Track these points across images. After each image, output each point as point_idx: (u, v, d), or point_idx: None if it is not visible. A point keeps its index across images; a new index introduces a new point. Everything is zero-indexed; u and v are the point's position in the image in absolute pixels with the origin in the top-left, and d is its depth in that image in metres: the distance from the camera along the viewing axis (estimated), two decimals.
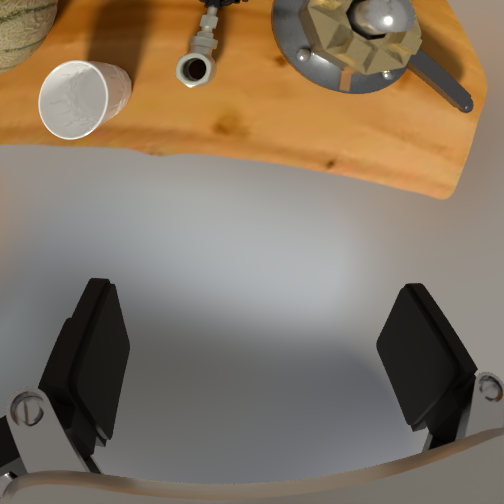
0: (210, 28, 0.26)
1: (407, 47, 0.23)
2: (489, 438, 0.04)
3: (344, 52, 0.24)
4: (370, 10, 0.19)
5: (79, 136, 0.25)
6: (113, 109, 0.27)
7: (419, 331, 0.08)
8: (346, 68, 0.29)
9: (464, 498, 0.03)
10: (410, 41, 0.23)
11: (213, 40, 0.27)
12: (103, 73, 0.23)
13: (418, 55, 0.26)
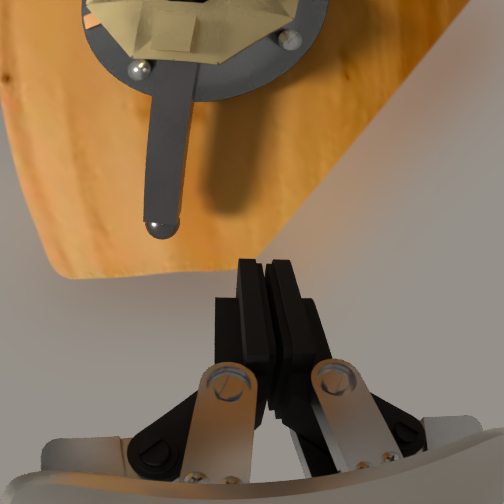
0: None
1: (155, 28, 0.12)
2: (489, 438, 0.04)
3: None
4: None
5: None
6: None
7: (271, 308, 0.09)
8: None
9: (464, 498, 0.03)
10: (171, 28, 0.12)
11: None
12: None
13: (179, 84, 0.16)
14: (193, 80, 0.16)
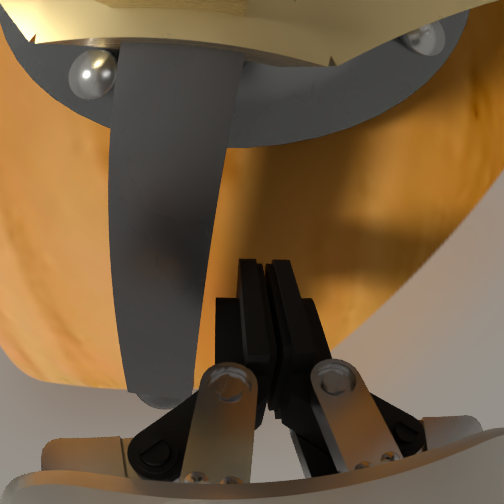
0: None
1: None
2: (489, 438, 0.04)
3: None
4: None
5: None
6: None
7: (271, 307, 0.09)
8: None
9: (464, 498, 0.03)
10: None
11: None
12: None
13: (186, 120, 0.06)
14: (231, 108, 0.06)
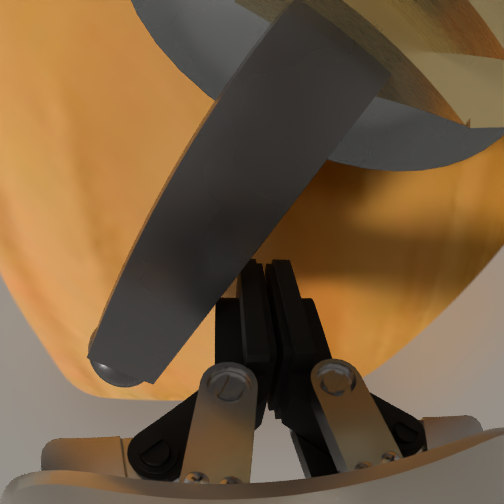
0: None
1: None
2: (489, 438, 0.04)
3: None
4: None
5: None
6: None
7: (271, 308, 0.09)
8: None
9: (464, 498, 0.03)
10: None
11: None
12: None
13: (317, 101, 0.05)
14: (358, 113, 0.06)
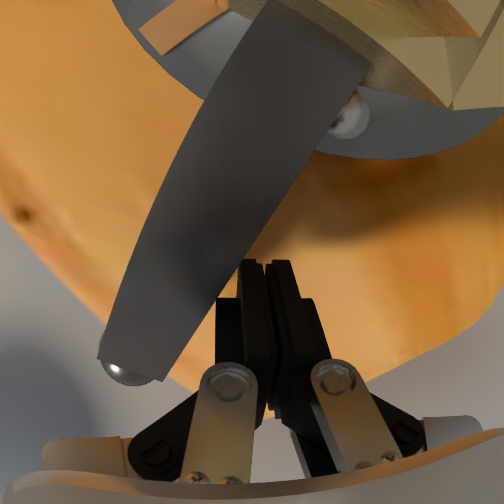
0: None
1: None
2: (489, 438, 0.04)
3: None
4: None
5: None
6: None
7: (270, 308, 0.09)
8: None
9: (464, 498, 0.03)
10: None
11: None
12: None
13: (299, 96, 0.06)
14: (341, 104, 0.06)
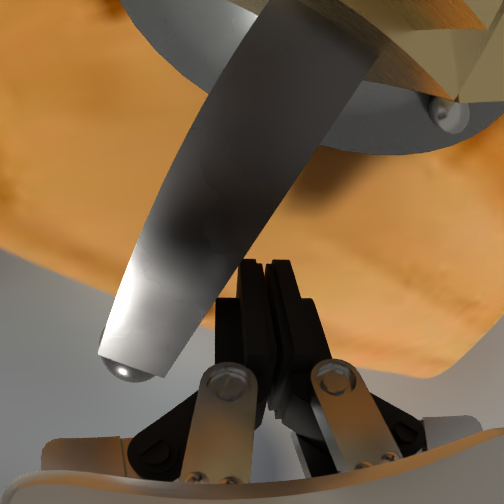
0: None
1: None
2: (489, 438, 0.04)
3: None
4: None
5: None
6: None
7: (271, 308, 0.09)
8: None
9: (464, 498, 0.03)
10: None
11: None
12: None
13: (306, 87, 0.05)
14: (348, 96, 0.06)
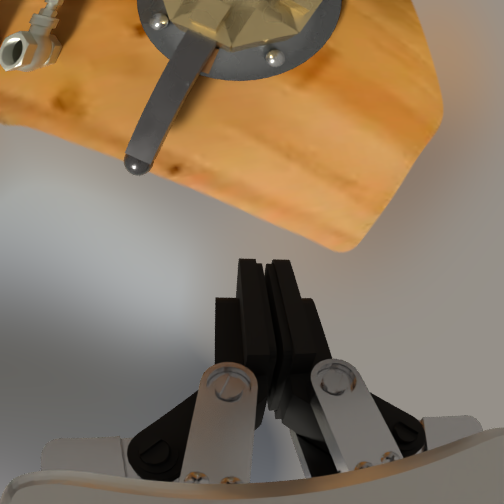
0: (52, 5, 0.17)
1: (198, 5, 0.15)
2: (489, 438, 0.04)
3: None
4: None
5: None
6: None
7: (271, 308, 0.09)
8: None
9: (464, 498, 0.03)
10: (209, 9, 0.16)
11: (48, 18, 0.17)
12: None
13: (195, 53, 0.20)
14: (207, 54, 0.20)
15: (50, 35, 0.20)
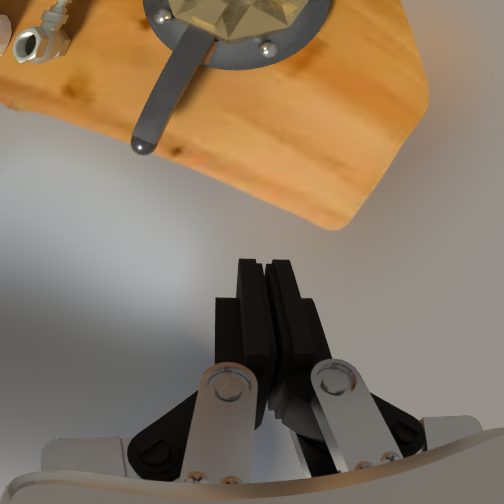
0: (62, 2, 0.19)
1: (199, 2, 0.17)
2: (489, 438, 0.04)
3: None
4: None
5: None
6: None
7: (271, 308, 0.09)
8: None
9: (464, 498, 0.03)
10: (209, 6, 0.18)
11: (59, 15, 0.19)
12: None
13: (196, 45, 0.22)
14: (207, 46, 0.22)
15: (60, 30, 0.22)
